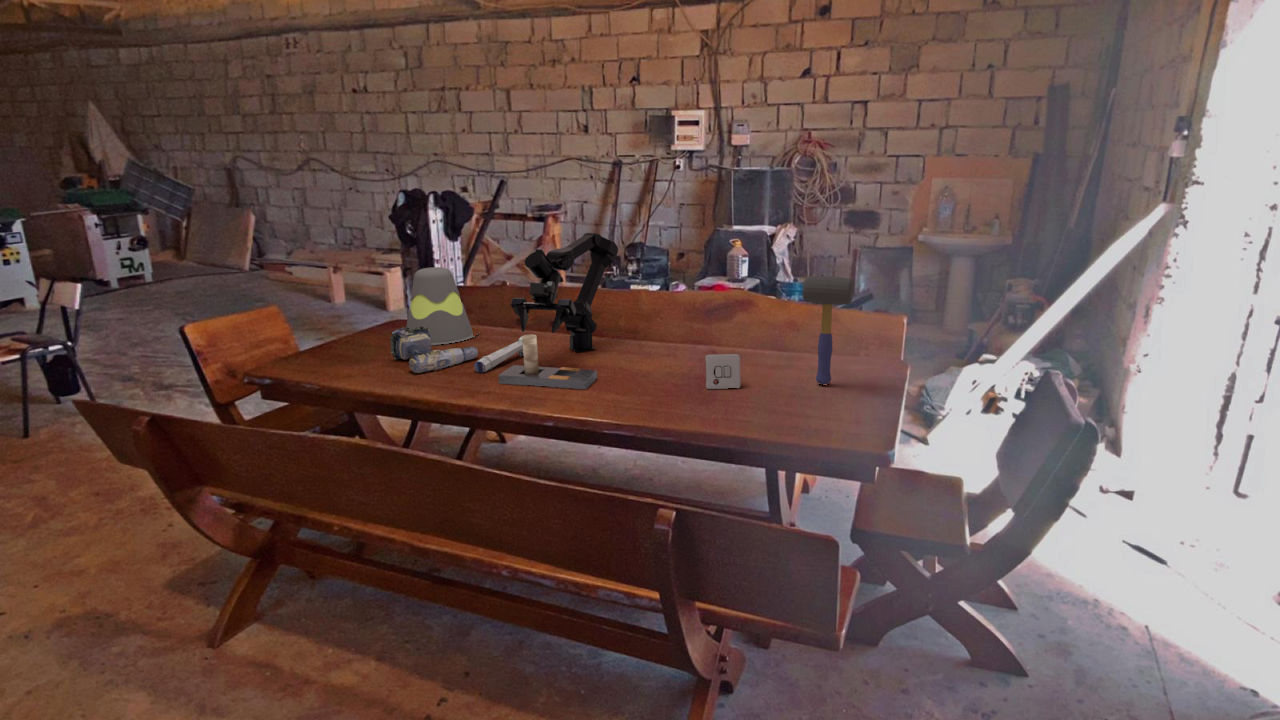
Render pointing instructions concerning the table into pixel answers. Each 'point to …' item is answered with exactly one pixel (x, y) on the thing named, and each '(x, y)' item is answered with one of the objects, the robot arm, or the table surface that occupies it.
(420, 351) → the power drill
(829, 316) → the rubber mallet
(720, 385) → the electrical switch
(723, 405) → the table surface
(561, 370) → the grey peg hole board
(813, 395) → the table surface
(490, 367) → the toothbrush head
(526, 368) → the birch peg
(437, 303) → the grey tapered bucket
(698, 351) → the table surface
